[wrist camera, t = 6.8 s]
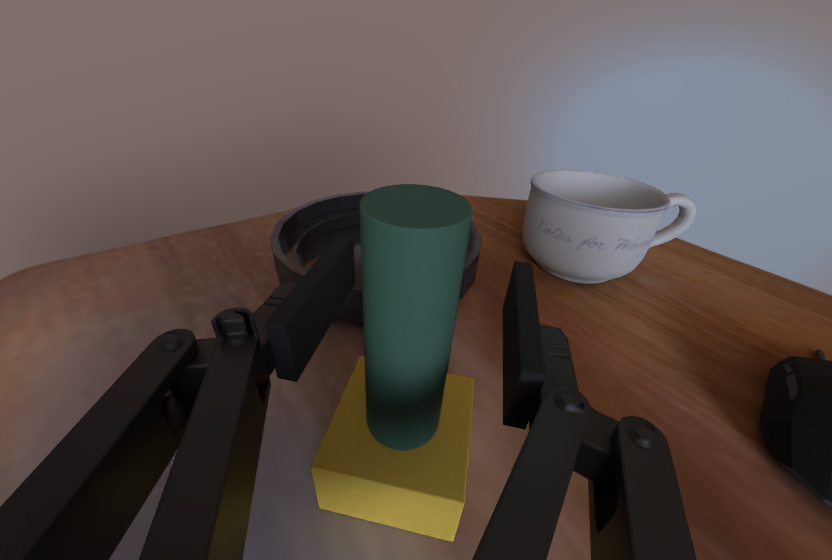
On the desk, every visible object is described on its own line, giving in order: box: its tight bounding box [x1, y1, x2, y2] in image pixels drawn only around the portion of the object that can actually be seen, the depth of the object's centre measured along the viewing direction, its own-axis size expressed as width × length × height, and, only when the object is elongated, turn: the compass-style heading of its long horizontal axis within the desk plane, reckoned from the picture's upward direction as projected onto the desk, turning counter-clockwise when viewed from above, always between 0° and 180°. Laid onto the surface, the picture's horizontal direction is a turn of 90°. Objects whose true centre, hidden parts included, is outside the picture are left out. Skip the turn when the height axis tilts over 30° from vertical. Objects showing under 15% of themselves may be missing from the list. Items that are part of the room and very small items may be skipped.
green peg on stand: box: [311, 184, 475, 542], centre depth 14 cm, size 6×6×14 cm
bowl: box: [270, 192, 481, 323], centre depth 31 cm, size 17×17×4 cm
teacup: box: [523, 170, 697, 284], centre depth 32 cm, size 14×11×8 cm
